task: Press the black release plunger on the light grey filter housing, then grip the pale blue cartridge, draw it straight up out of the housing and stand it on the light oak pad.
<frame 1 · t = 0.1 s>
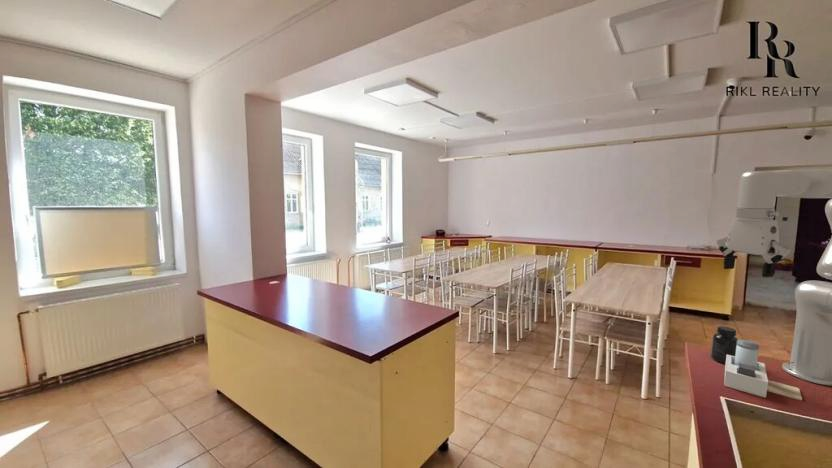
hand: (747, 272, 96), 37 cm above the table, tool pointing down, fingers open, 9 cm apart
filter housing: (743, 381, 105), on the table
plunger: (746, 372, 101), point 5 cm above the table, slide at 0.0 cm
supplement bottle: (723, 360, 118), on the table
oak pad: (782, 390, 100), on the table
cartridge: (743, 377, 107), resting in filter housing
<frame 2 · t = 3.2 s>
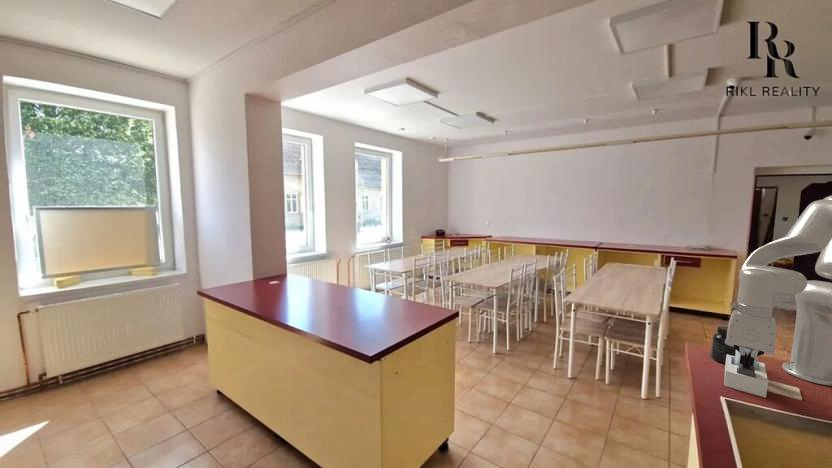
hand: (745, 367, 101), 7 cm above the table, tool pointing down, fingers closed
plunger: (746, 372, 101), point 5 cm above the table, slide at 0.1 cm, touching gripper
everything else where it was.
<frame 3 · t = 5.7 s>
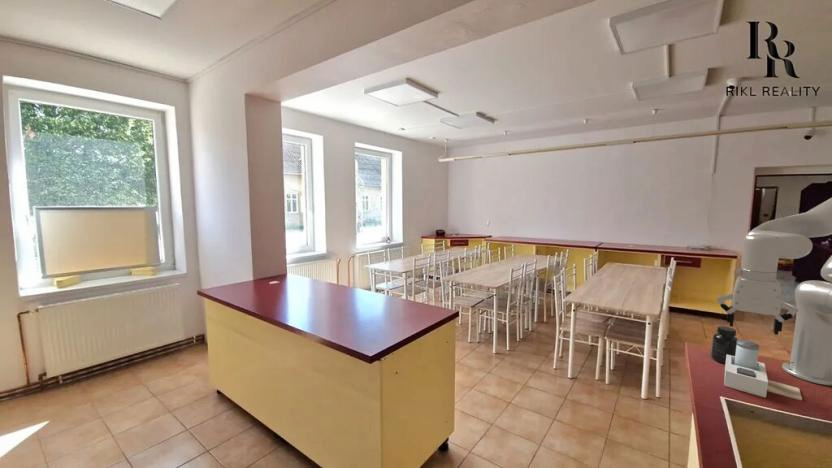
hand: (752, 328, 101), 18 cm above the table, tool pointing down, fingers open, 9 cm apart
plunger: (745, 376, 101), point 4 cm above the table, slide at 1.5 cm
everything else where it was.
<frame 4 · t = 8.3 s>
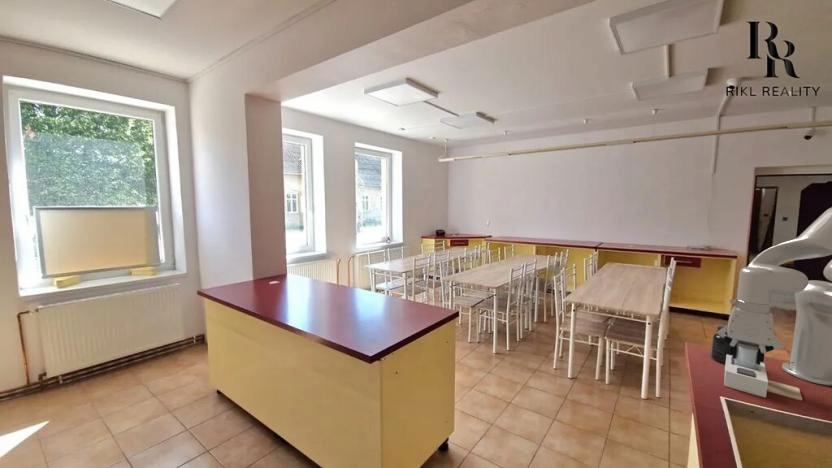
hand: (745, 359, 106), 6 cm above the table, tool pointing down, fingers closed on cartridge, 5 cm apart
cartridge: (743, 377, 107), resting in filter housing, touching gripper
everything else where it was.
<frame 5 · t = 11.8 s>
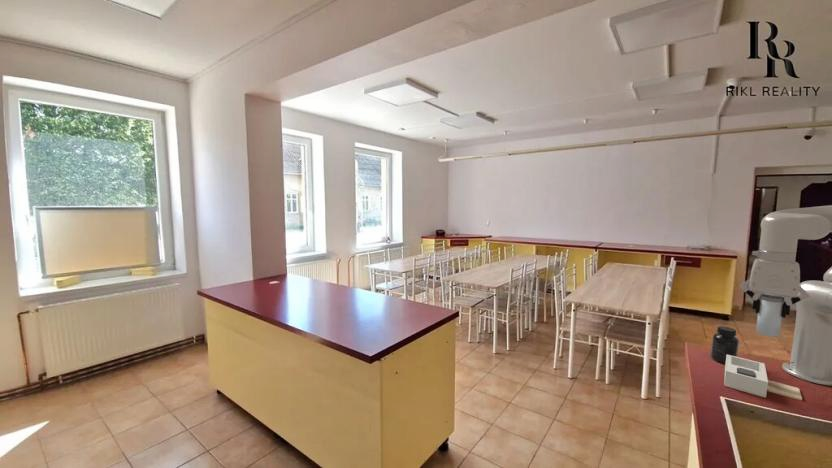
hand: (770, 313, 101), 23 cm above the table, tool pointing down, fingers closed on cartridge, 5 cm apart
cartridge: (767, 333, 102), point 17 cm above the table, touching gripper
everything else where it was.
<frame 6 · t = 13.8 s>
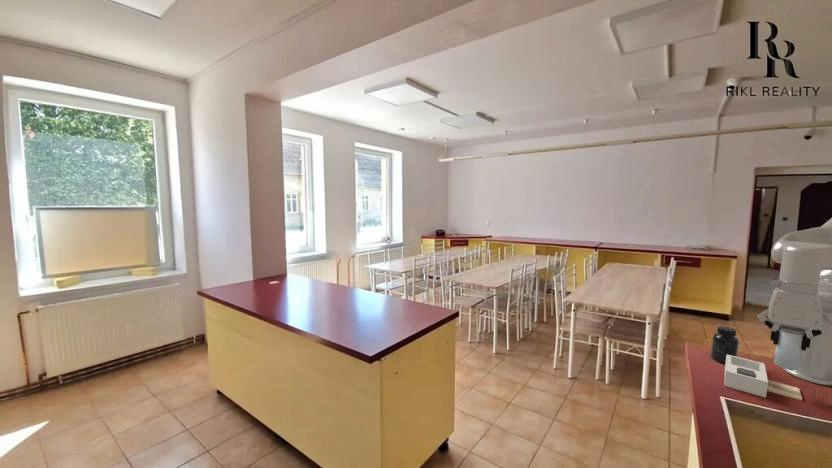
hand: (788, 345, 98), 15 cm above the table, tool pointing down, fingers closed on cartridge, 5 cm apart
cartridge: (785, 365, 99), point 8 cm above the table, touching gripper
everything else where it was.
when the fingers open (8 cm above the table, at t = 15.5 s): cartridge stays where it is, resting on oak pad.
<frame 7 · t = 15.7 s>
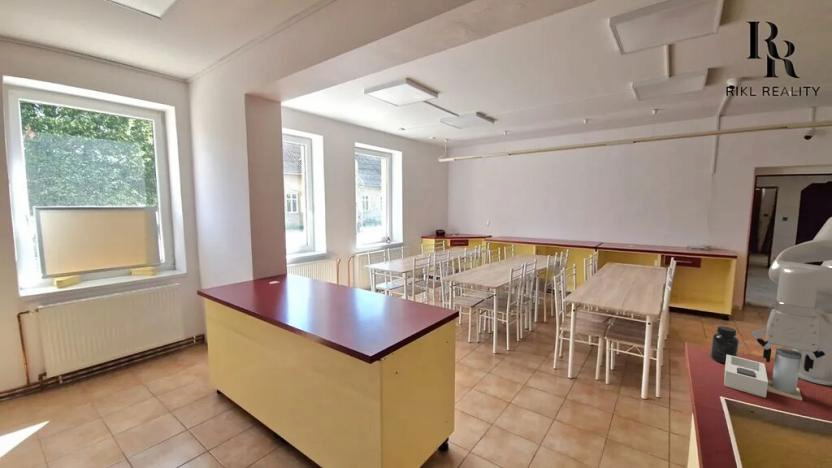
hand: (786, 364, 99), 8 cm above the table, tool pointing down, fingers open, 7 cm apart
cartridge: (783, 388, 100), point 1 cm above the table, touching oak pad
everything else where it was.
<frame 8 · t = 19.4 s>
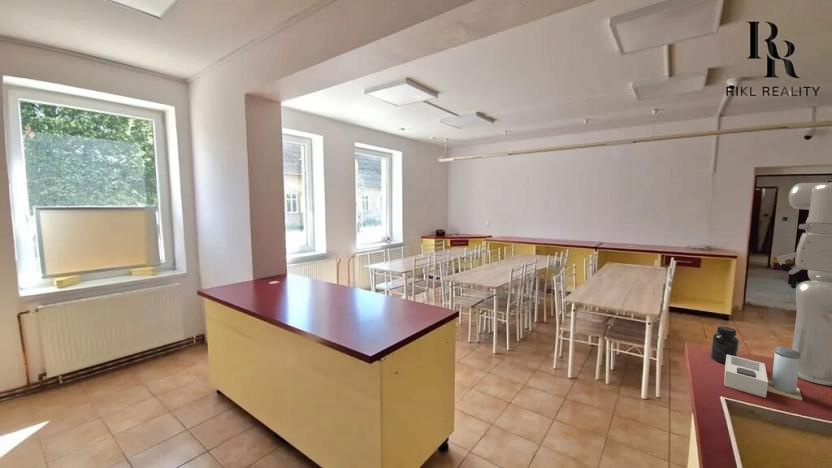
hand: (819, 290, 91), 33 cm above the table, tool pointing down, fingers open, 9 cm apart
nothing on the table moved.
at the end: plunger slide at 1.5 cm; cartridge 0.1 cm off-centre on the oak pad, point 0.6 cm above the oak pad's base; cartridge tilted 1° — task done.
